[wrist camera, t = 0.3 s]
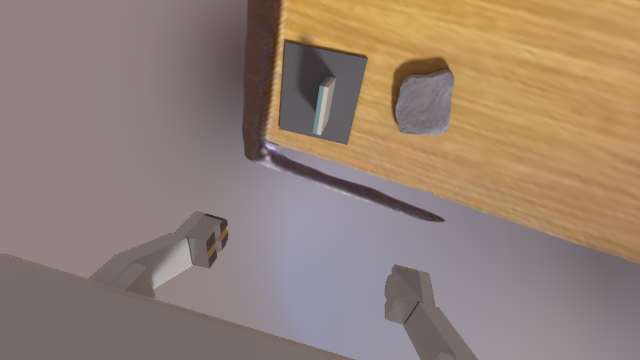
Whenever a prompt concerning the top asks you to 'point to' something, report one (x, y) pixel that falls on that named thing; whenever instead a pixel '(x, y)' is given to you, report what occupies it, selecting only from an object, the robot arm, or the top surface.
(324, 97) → the tile
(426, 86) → the stone block
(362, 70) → the mat
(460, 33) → the top surface
